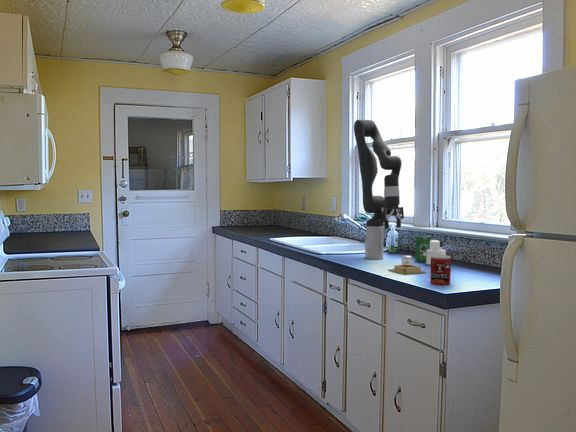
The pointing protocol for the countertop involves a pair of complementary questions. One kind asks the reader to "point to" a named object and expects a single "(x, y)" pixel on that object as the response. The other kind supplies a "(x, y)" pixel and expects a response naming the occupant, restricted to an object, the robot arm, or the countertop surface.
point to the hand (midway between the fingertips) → (392, 228)
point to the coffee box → (422, 248)
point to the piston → (406, 260)
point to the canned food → (440, 269)
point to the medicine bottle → (434, 250)
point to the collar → (407, 269)
